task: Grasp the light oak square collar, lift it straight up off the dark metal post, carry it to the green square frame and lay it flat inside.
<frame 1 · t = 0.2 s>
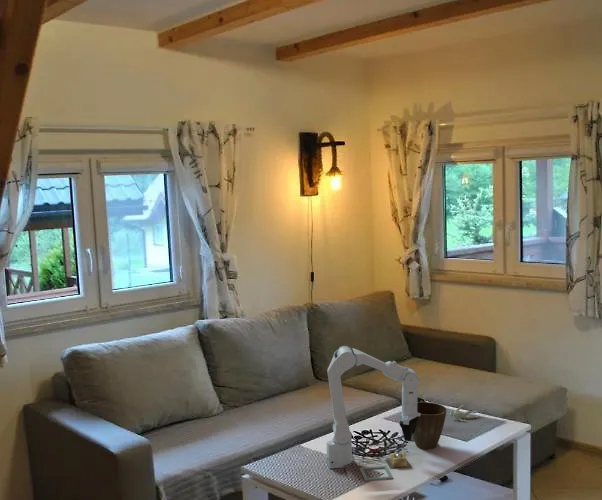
hand: (409, 436, 266), 9 cm above the table, tool pointing down, fingers open, 7 cm apart
plant pot: (426, 447, 279), on the table
soldier figure: (464, 419, 309), on the table
green square frame: (376, 476, 255), on the table
collar: (398, 463, 263), point 1 cm above the table, touching stake
stake: (398, 466, 263), on the table
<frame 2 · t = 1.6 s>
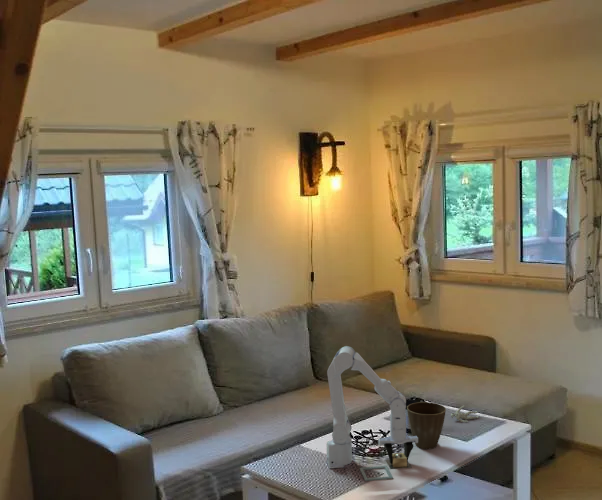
hand: (398, 462, 262), 2 cm above the table, tool pointing down, fingers closed on collar, 5 cm apart
collar: (398, 463, 263), point 1 cm above the table, touching gripper, stake
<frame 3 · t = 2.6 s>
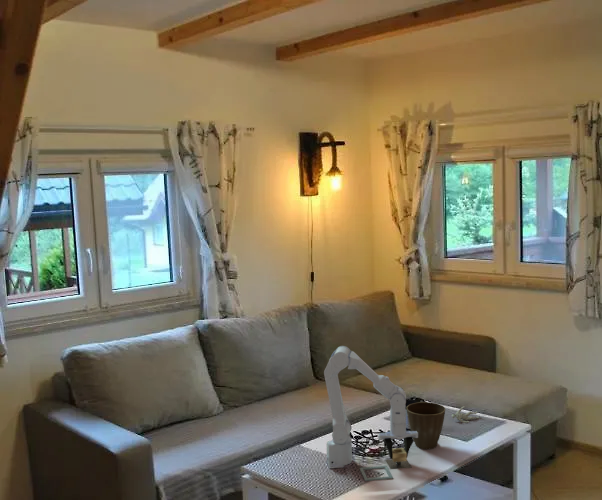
hand: (398, 457, 262), 4 cm above the table, tool pointing down, fingers closed on collar, 5 cm apart
collar: (398, 458, 262), point 3 cm above the table, touching gripper
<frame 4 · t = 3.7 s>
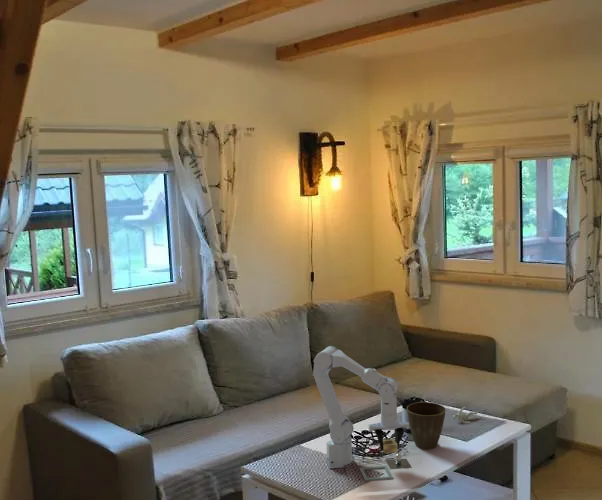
hand: (389, 448, 258), 8 cm above the table, tool pointing down, fingers closed on collar, 5 cm apart
collar: (389, 450, 259), point 8 cm above the table, touching gripper
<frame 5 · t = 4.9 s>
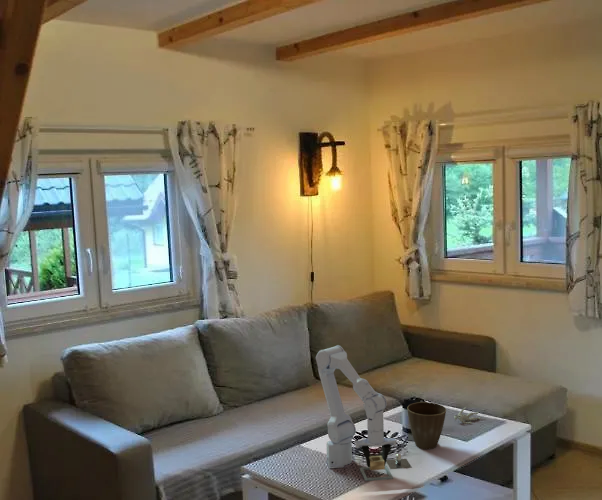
hand: (376, 465, 254), 4 cm above the table, tool pointing down, fingers closed on collar, 5 cm apart
collar: (376, 466, 254), point 4 cm above the table, touching gripper
when the fingers open (3 cm above the table, at t = 5.6 s): collar drops 2 cm, resting on green square frame.
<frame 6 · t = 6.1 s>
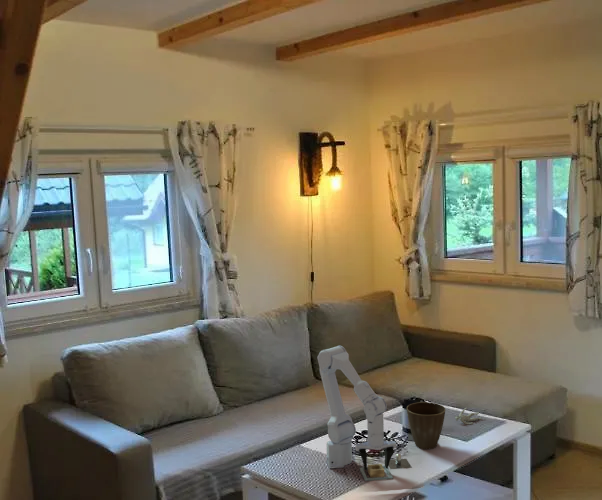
hand: (376, 468, 254), 3 cm above the table, tool pointing down, fingers open, 7 cm apart
collar: (376, 475, 255), resting on green square frame
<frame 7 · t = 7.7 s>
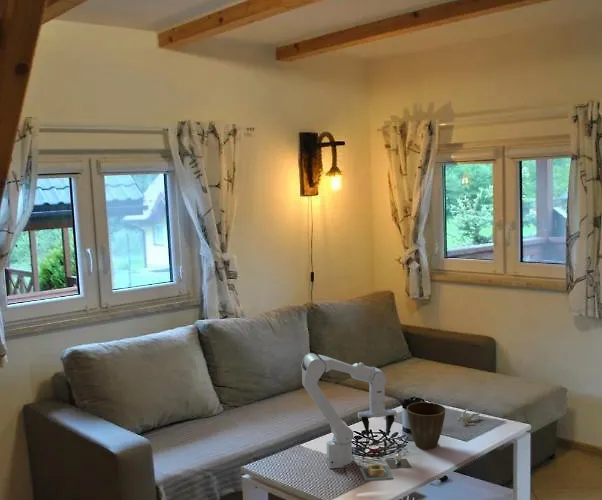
hand: (377, 435, 268), 9 cm above the table, tool pointing down, fingers open, 7 cm apart
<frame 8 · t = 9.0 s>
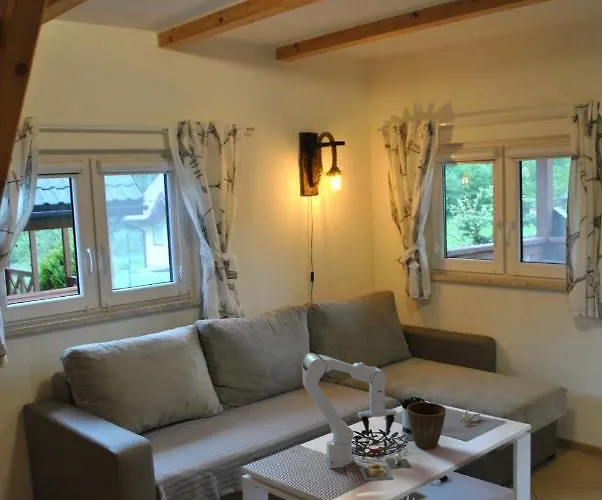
hand: (377, 434, 269), 9 cm above the table, tool pointing down, fingers open, 7 cm apart
at the end: collar 0.1 cm off-centre on the green square frame, point 0.5 cm above the green square frame's base; collar tilted 0°; the gripper is holding nothing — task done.
